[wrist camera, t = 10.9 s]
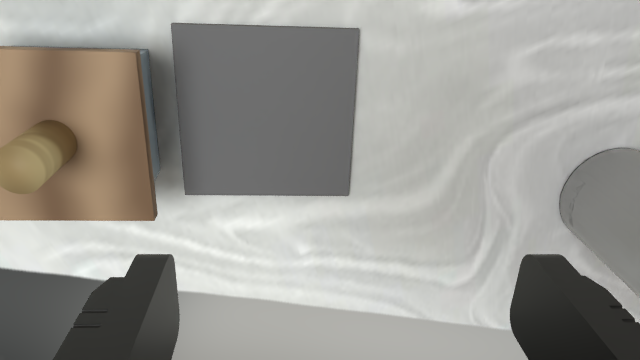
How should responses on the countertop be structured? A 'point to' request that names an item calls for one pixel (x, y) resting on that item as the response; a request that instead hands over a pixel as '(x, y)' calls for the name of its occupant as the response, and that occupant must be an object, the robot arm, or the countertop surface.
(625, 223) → the robot arm
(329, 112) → the mat
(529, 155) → the countertop surface
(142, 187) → the lid
